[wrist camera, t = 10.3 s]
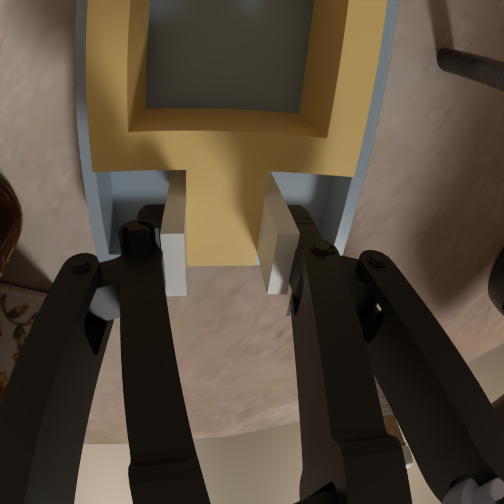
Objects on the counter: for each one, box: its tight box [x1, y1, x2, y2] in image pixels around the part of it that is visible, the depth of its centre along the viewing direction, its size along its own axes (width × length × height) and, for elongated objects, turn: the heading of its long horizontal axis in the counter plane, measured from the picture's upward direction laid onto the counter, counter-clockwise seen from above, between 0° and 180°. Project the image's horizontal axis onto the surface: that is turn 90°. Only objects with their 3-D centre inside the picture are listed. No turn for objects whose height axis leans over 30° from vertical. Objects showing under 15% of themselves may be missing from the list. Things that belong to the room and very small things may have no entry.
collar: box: [86, 0, 387, 266], centre depth 12 cm, size 15×10×4 cm
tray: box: [74, 0, 398, 265], centre depth 13 cm, size 14×18×3 cm
